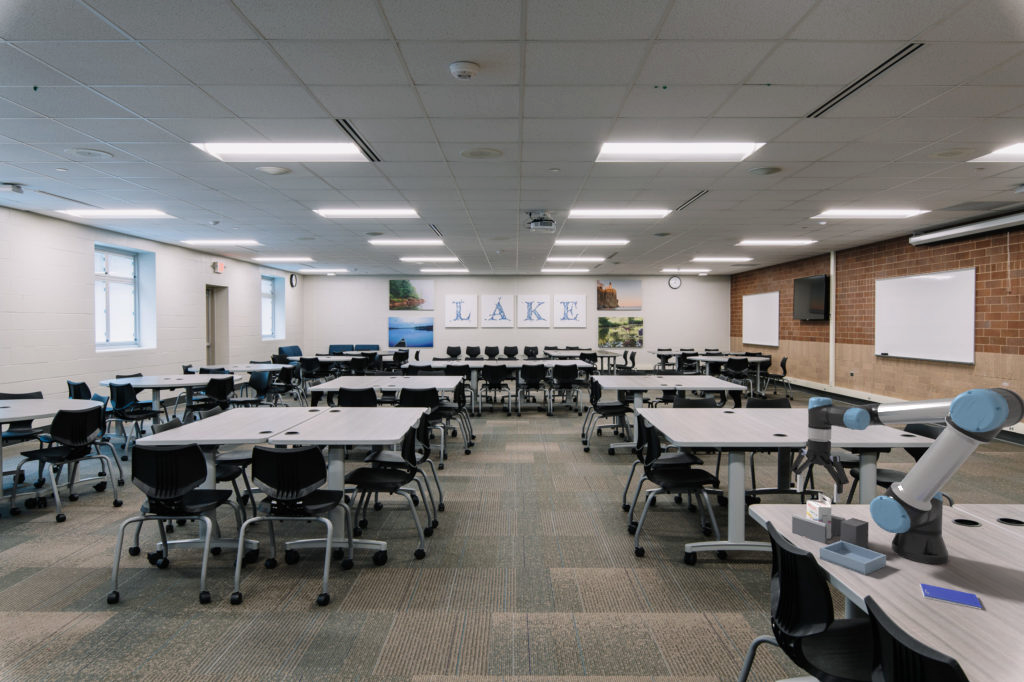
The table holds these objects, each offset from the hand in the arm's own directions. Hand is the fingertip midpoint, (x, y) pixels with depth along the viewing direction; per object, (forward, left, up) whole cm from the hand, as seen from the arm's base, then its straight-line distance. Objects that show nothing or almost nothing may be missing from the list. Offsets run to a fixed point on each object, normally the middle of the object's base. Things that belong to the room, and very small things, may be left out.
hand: (817, 496), depth 195 cm
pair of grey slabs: (0, 0, -14) cm, 14 cm away
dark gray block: (-13, +1, -14) cm, 19 cm away
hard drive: (-45, +14, -15) cm, 50 cm away
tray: (-19, +14, -14) cm, 28 cm away
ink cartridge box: (0, 0, -14) cm, 14 cm away
